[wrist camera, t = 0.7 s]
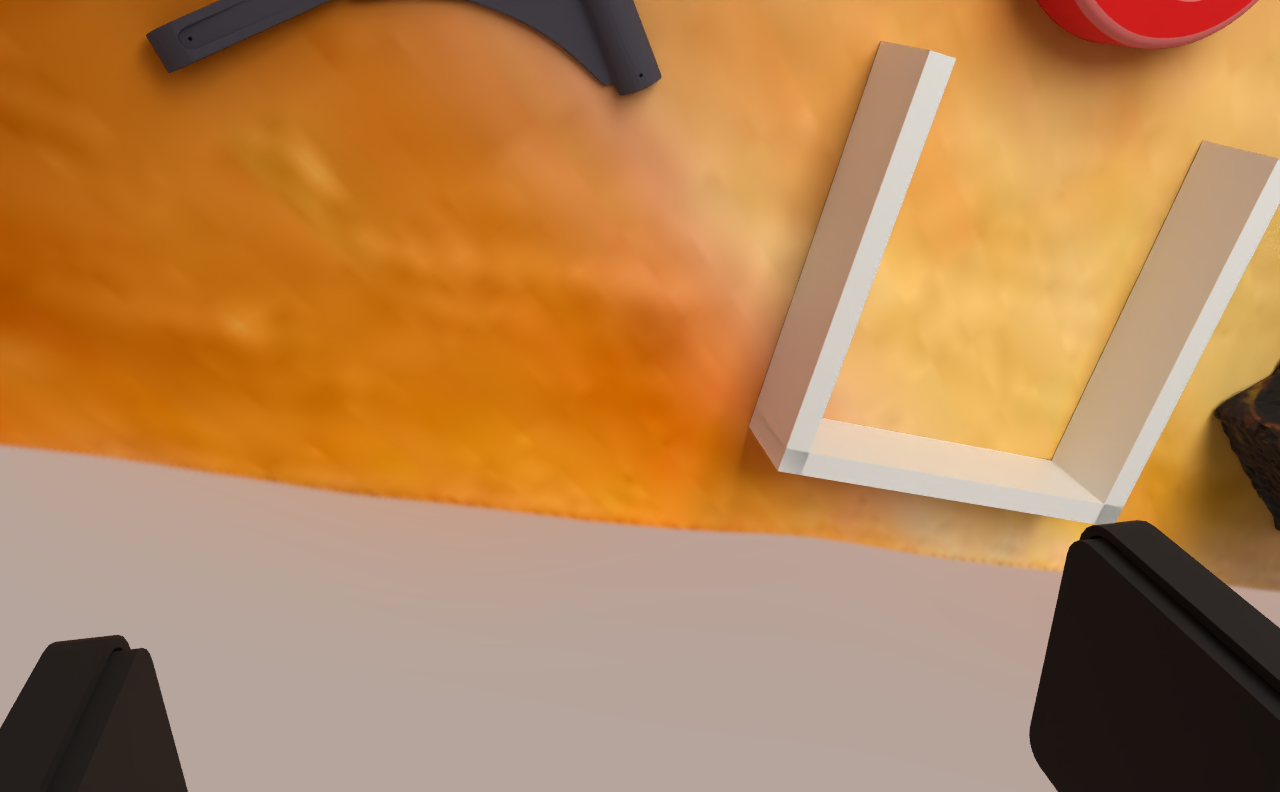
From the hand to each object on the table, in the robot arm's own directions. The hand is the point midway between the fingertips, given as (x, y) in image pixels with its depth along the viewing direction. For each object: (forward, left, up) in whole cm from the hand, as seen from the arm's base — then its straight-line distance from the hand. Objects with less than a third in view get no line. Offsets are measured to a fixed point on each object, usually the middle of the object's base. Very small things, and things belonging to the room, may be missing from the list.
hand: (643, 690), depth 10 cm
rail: (0, +21, -28) cm, 35 cm away
